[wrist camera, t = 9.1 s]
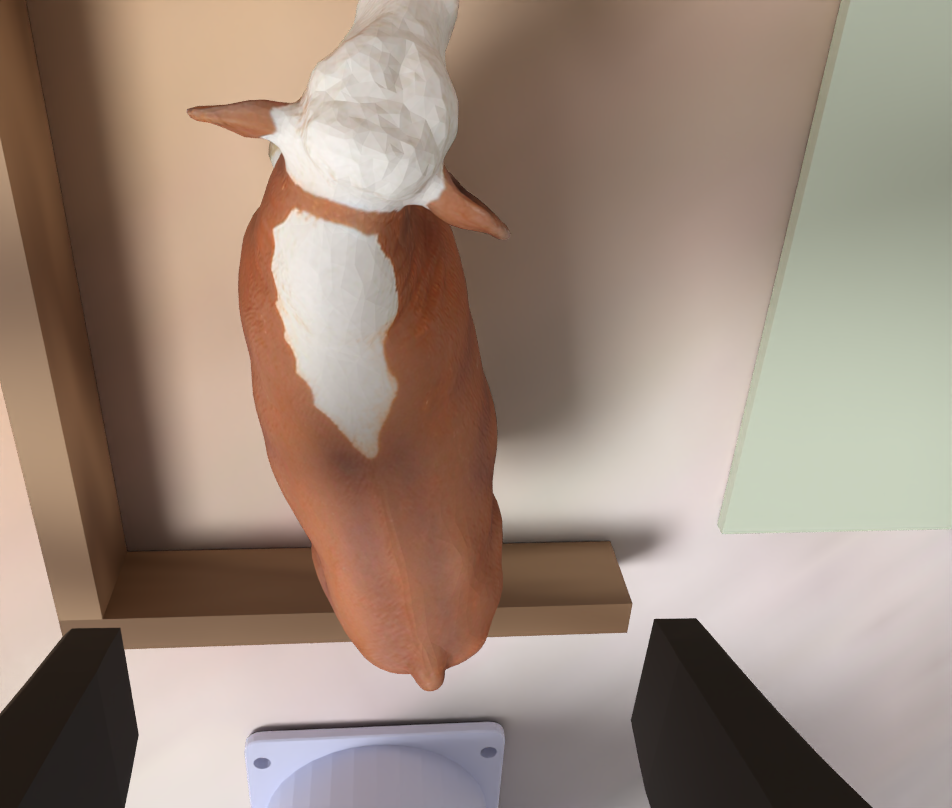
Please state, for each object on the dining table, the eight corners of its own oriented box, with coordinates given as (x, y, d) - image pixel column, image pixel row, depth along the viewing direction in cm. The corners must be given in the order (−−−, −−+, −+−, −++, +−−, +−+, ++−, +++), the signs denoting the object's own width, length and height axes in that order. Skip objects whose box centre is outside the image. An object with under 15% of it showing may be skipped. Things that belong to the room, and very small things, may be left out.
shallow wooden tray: (605, 569, 26) (627, 632, 23) (93, 581, 24) (66, 651, 22) (728, -187, 16) (780, -195, 14) (-82, -244, 15) (-159, -265, 13)
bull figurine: (461, -70, 17) (521, -31, 10) (481, 499, 24) (526, 758, 17) (227, -59, 17) (123, -13, 10) (316, 513, 24) (292, 781, 17)
